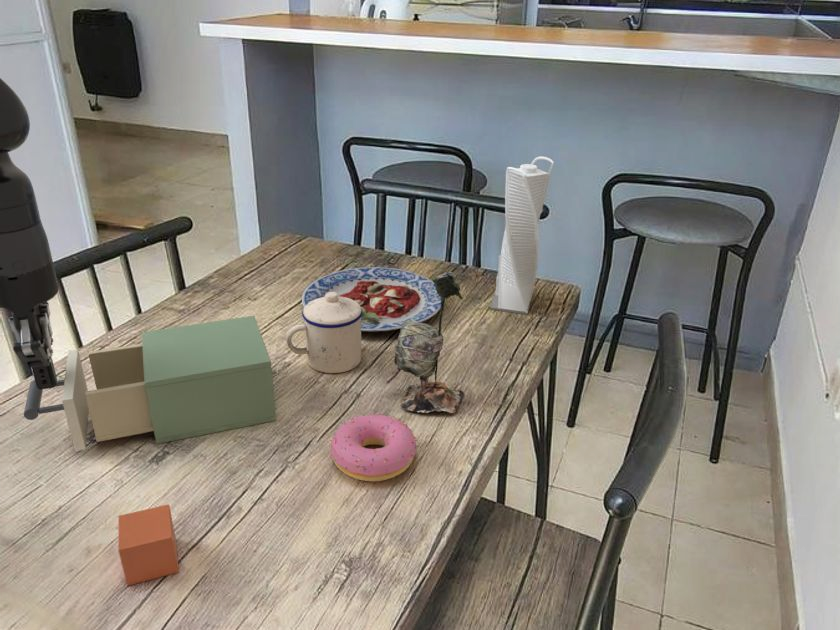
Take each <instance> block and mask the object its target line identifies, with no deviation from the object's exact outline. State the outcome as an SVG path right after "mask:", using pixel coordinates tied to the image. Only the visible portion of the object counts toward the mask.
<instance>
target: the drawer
mask: <svg viewBox="0 0 840 630" xmlns="http://www.w3.org/2000/svg"><path fill="white" fill-rule="evenodd" d="M87 355H88V358H89V363H90V367H91V371H92V375H93V379H94V384H95V388H96V389H92V390H88V389H89V388H88V385H87V381H86V377H85V373H84V369H83V364H82V359H81V356H80V352H79V349H71V350H68V351H67V358H66V367H65V373H64V379H57V382H56V386H55V387H54V388H57V387H62V386H63V389H62V395H61V397H62V398H61V403H59V404H54V405H47V406H42V407H41V404H42V397H43V391H44V389H38V388H37V386H36V382H35V379H34V380H31V382H30V383H29V386H28V392H27V397H26V401H25V406H24V410H23V417H24V418H25V419H26V420H29V421H33V420H36V419H37V418H38V417H39V415H43V414H49V413H53V412H54V413H55V412H59V411H64V413H65V414H64V415H65V418H66V422H67V425H68V430H69V433H70V436H71V440H72V444H73V448H74V451H75V452H79V451H80V452H81V451H85V450H87V440H88V439H87V438H88V425H89V416H90V421H91V424H92V429H93V432H94V437H95V440H96V441H95V442H96V443H99V442H104V441H110V440H114V439H119V438H124V437H125V438H126V437H130V436H136V435H141V434H147V433H150V432H154V429H153V424H152V419H151V414H150V409H149V404H148V399H147V393H146V388H145V383H144V366H143V347H142V343H136V344H130V345H129V344H128V345H122V346H117V347H110V348H102V349H97V350H89V351H88V354H87Z"/></svg>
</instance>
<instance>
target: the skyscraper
mask: <svg viewBox="0 0 840 630" xmlns="http://www.w3.org/2000/svg"><path fill="white" fill-rule="evenodd" d="M540 160H542V161H543V160H544V161H548V162H549V163H551V164H550V166H549V169H548V171H544V170H541V169H539V168H538V166H537V165H535V163H536V162H538V161H540ZM554 163H555V162H554V160H552V159H551V158H549V157H547V156H541V155H540V156H537V157H535V158H534V159H533V160H532V161H531V163H523V164H520V166H519V167H514V166H507V167H506V168H505V186H504V187H505V188H504V189H505V191H504V212H505V213H504V215H505V217H504V218H505V228H504V232H503V238H502V242H501V252H500V254H499V255H498V270H497V275H496V277H495V280H496V281H495V282H496V283H495V284H496V287H495V291H494V295H493V297H492V300H491V302H490V305H489V310H491V311H498V312H506V313H513V314H522V315H528V314H529V310H530V306H531V303H532V298H533V294H534V290H535V289H534V288H535V284H536V278H537V272H538V267H539V256H540V234H539V233H540V232H539V225H538V224H539V221H540V219H541V214H542V212H543V207H544V205H545V204H544V203H545V199H546V196H547V191H548V186H549V182H550V177H551V176H550V175H551V172H552V169H553V167H554Z"/></svg>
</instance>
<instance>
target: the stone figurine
mask: <svg viewBox="0 0 840 630" xmlns="http://www.w3.org/2000/svg"><path fill="white" fill-rule="evenodd" d="M433 282H434V284H435V287H436V290H437V293H438V295H439V296H440V297H442V298H441V303H440V305H441V308H440V310H439V316H438V329H437V327H434V326H432V325H430V324H429V323H428V324H427V323H424V322H421V323H420V322H418V321H415V320H406V321H404V323H403V325H402V327H401V329H400V330H399V331H400V332H399V334H398V336H397V342H396V344H395V345H394V348H395V349H394V350H395V351H394V354H393V362H394V365H395V366H396V368H395V369H394V370H393V371H392V373H391V375H390V376H389V377H388V378H387V379H386V381H385V384H390V383H391V382H392V381H393V380H394V379H395V378H396V377H397V376H398V375H399V374H400V373H401V371H403V372H405V373H409V374H411V375H413V376H414V377H416V378H419V381H420V383H418V384H417V383H415V384H413V385H412V384H411V385H410V384H409V386H408V387H407V388H406V391H405V395H404V397H403V399H402V403H400V406H401V408H402V409H404V410H405V411H409V412H410V411H411V412H417V413H422V414H424V413H425V414H428V413H431V412H432V413H433V412H437V413H440V412H442V411H443V412H447V413H450V414H454V413H456V412H458V409H459V407H458V406H459V405H461V404H462V402H461V400H463V397H464V396H465V394H466V393H465V392H464V391H463V390H462V389H460V390H459V389H451V388H450V387H447V386H446V385H447V384H446V382H442V381H437V377H438V375H437V374H438V366H439V365H438V363H439V357H440V355H441V351H442V350H443V346H444V341H445V339H444V336H443V333H442V322H443V312H444V309H445V308H444V307H445V303H446V299H449V298H450V297H455V296H457V298H458V299H460V300H463V299H464V298H463V296H462V294H461V292H460V291H461V284H460V282H459V281H458V280H457V277H456V275H455V274H454V273H453V272H452V271H447V272H445V273H441V274H439V275H437V276H436V277H434V278H433ZM407 316H408V315H406V317H407ZM432 376H434V381H429V379H430V378H431V377H432Z"/></svg>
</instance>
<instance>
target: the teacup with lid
mask: <svg viewBox="0 0 840 630" xmlns="http://www.w3.org/2000/svg"><path fill="white" fill-rule="evenodd" d="M301 315H302V318H303V320H304V321H303V322H304V323H300V324H296V325H294V326H292V327H290V328H289V329H288V330H287V332H286V334H285V343H286V345H287V348H288V349H289V350H290V351H291V352H292V353H294V354H296V355H306V362H307V364H308V366H309V367H310V368H312V369H313V370H315V371H317V372H320V373H325V374H339V373H345V372H348V371H351V370H353V369H354V368H356V367H357V366H358V365H359V364H361V361H362V357H363V356H362V331H361V316H362V309H361V307H360V305H359V304H358V303H357V302H356V301H354V300H352V299H349V298H346V297H340V296H338V294H337V293H336V292H328V293H327V294H326V295H325V297H322V298H318V299H315V300H313V301H311V302H309V303H308V304H307V305H306V306H305V308H304V307H303V310H302V314H301ZM301 331H304V334H305V336H304V337H305V347H296V346H295V345H294V344H293V343H292V338H293V336H294V335H295V334H296V333H298V332H301Z"/></svg>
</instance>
